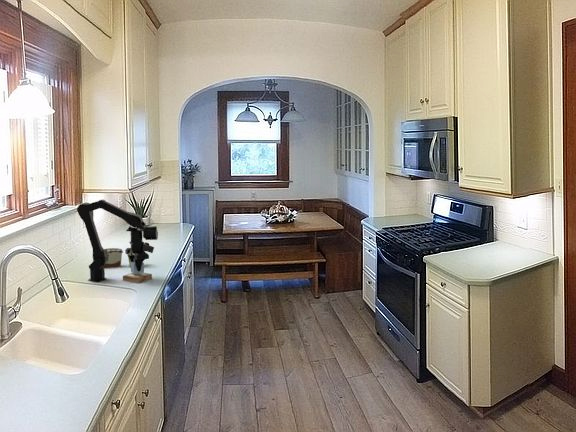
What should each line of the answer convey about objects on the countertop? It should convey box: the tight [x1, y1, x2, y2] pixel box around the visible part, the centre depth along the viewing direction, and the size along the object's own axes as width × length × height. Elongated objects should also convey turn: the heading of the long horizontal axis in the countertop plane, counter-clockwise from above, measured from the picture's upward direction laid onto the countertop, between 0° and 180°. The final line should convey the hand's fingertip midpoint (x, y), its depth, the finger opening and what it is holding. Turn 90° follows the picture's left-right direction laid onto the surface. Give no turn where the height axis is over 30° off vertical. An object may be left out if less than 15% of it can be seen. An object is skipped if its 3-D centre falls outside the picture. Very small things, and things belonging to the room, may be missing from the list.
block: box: [130, 262, 145, 274], centre depth 257 cm, size 5×5×5 cm
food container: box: [103, 247, 124, 269], centre depth 284 cm, size 12×6×10 cm, turn 115°
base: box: [122, 272, 153, 284], centre depth 258 cm, size 10×10×3 cm
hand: (137, 270), depth 257 cm, fingers closed on block, 5 cm apart
